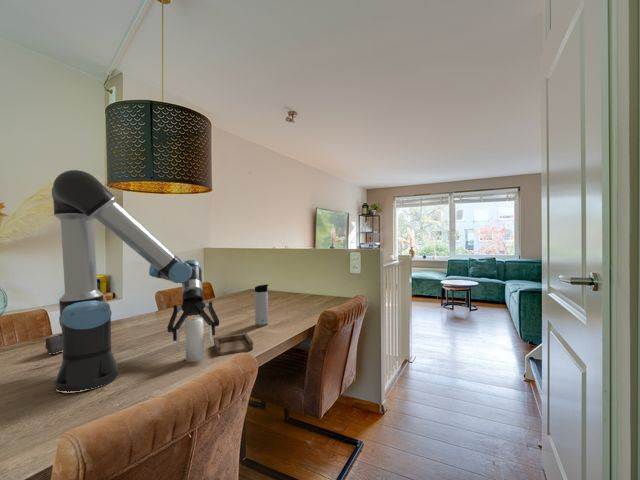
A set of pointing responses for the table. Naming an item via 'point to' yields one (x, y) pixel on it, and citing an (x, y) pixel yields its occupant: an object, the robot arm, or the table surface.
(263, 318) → the travel mug
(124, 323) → the table surface
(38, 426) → the table surface
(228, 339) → the tray
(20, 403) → the table surface
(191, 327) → the paper roll
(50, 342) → the perforated stone tool
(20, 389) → the table surface
